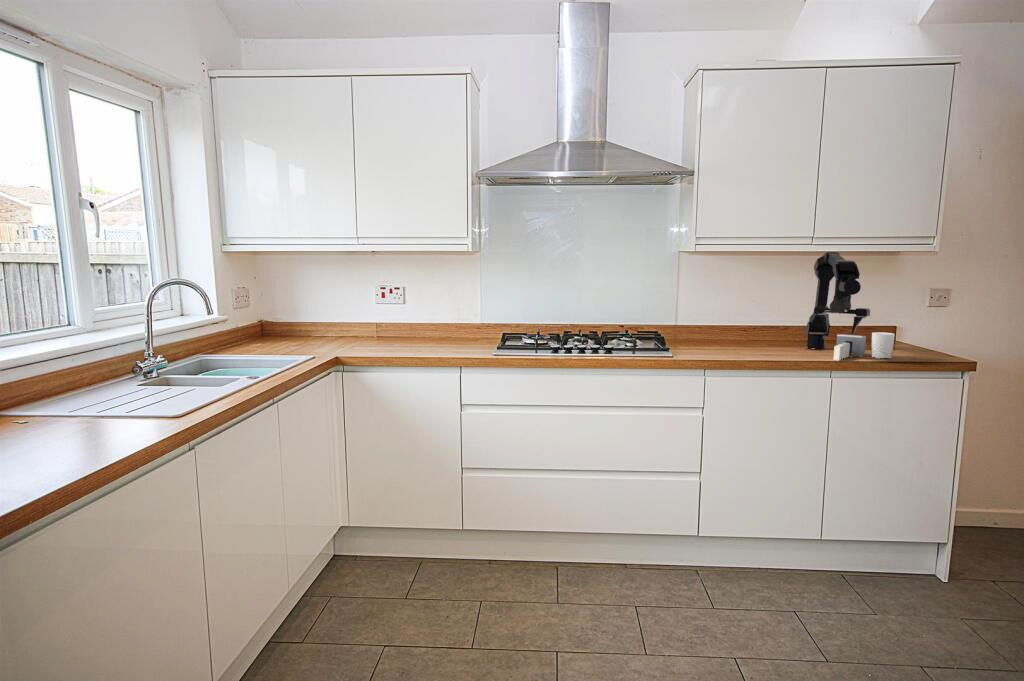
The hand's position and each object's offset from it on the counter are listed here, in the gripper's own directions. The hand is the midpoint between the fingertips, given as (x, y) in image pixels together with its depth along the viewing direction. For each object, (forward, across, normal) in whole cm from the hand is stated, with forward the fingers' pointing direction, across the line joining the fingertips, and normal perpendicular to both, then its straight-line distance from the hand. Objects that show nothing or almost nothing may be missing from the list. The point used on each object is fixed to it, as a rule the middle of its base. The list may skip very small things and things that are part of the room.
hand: (839, 332), depth 229 cm
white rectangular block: (+11, 0, +4) cm, 11 cm away
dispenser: (+11, 0, +18) cm, 21 cm away
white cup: (+11, +11, +19) cm, 25 cm away
